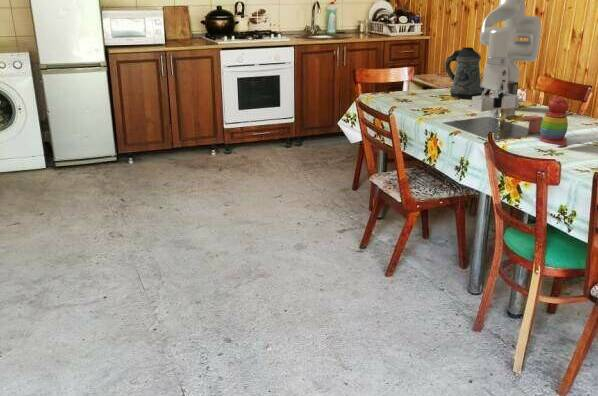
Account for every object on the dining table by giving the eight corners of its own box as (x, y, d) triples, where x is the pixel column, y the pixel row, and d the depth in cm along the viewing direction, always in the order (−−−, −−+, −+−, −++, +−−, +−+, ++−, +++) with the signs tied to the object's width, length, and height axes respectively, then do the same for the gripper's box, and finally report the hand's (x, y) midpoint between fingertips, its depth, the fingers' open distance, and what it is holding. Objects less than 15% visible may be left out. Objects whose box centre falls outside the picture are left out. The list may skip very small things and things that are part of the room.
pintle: (501, 125, 245) (503, 112, 243) (505, 126, 243) (507, 113, 241) (496, 125, 244) (498, 112, 242) (501, 127, 242) (502, 114, 240)
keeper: (533, 130, 237) (535, 115, 235) (540, 132, 234) (542, 116, 232) (514, 132, 233) (516, 117, 231) (520, 134, 230) (522, 119, 228)
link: (504, 104, 244) (505, 92, 242) (515, 107, 239) (516, 95, 237) (470, 108, 238) (472, 96, 236) (481, 111, 232) (482, 99, 230)
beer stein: (485, 99, 299) (491, 49, 290) (448, 99, 299) (452, 50, 290) (477, 93, 314) (481, 45, 305) (441, 93, 315) (444, 46, 305)
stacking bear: (566, 148, 216) (574, 100, 209) (537, 145, 220) (544, 98, 213) (567, 141, 225) (574, 95, 219) (539, 138, 229) (545, 93, 222)
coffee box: (504, 115, 266) (508, 79, 261) (514, 117, 261) (519, 82, 255) (489, 117, 262) (493, 81, 257) (499, 120, 257) (503, 84, 251)
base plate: (489, 118, 260) (489, 116, 260) (543, 135, 233) (543, 132, 233) (441, 124, 250) (441, 122, 250) (492, 143, 223) (492, 140, 223)
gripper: (519, 63, 225) (514, 109, 232) (489, 58, 240) (484, 101, 246) (504, 64, 222) (499, 111, 229) (474, 59, 237) (470, 103, 244)
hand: (491, 105), depth 238 cm, fingers closed on link, 6 cm apart
